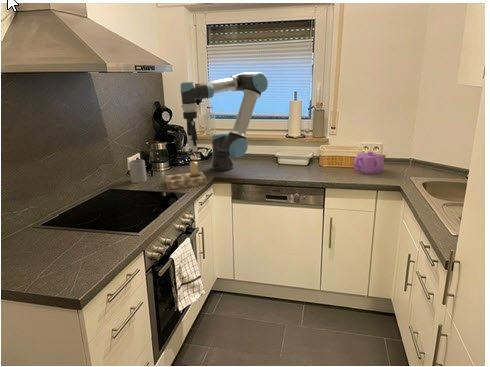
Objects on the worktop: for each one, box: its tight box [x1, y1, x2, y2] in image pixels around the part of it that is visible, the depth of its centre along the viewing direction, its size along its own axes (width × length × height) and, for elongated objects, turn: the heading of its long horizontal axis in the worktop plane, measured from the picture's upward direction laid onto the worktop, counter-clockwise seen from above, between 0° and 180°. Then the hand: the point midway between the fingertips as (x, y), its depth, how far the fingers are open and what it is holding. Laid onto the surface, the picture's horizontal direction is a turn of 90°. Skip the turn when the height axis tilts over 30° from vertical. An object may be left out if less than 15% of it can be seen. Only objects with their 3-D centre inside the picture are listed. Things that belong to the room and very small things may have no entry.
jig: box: [164, 171, 208, 190], centre depth 203 cm, size 22×14×4 cm, turn 107°
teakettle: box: [353, 151, 387, 176], centre depth 213 cm, size 17×17×12 cm
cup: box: [128, 159, 148, 184], centre depth 210 cm, size 9×9×12 cm
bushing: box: [189, 161, 199, 178], centre depth 203 cm, size 4×4×12 cm
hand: (193, 148), depth 199 cm, fingers open, 13 cm apart
